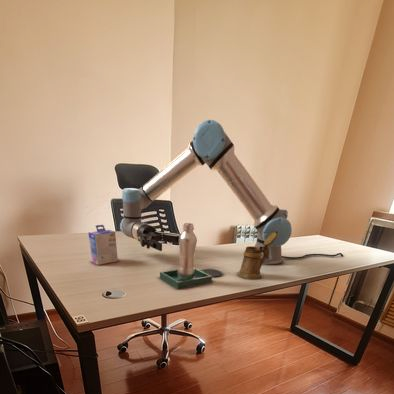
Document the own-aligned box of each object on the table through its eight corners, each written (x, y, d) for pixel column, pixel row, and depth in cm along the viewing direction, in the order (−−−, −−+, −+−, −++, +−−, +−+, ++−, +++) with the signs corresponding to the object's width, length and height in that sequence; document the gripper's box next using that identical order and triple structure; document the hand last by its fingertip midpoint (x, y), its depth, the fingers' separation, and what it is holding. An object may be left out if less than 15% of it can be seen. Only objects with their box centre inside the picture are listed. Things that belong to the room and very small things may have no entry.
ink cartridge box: (111, 258, 134) (108, 223, 126) (118, 261, 131) (116, 225, 123) (91, 262, 128) (86, 225, 120) (98, 265, 125) (94, 228, 117)
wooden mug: (273, 279, 125) (283, 233, 115) (242, 279, 122) (249, 232, 113) (265, 272, 132) (273, 228, 122) (235, 271, 130) (242, 227, 120)
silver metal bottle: (176, 276, 119) (178, 221, 108) (193, 276, 120) (197, 222, 109) (177, 281, 114) (179, 225, 103) (195, 282, 114) (198, 226, 104)
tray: (192, 272, 125) (192, 266, 124) (211, 282, 117) (212, 276, 116) (159, 278, 117) (159, 272, 116) (177, 289, 109) (177, 282, 107)
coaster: (212, 268, 131) (212, 268, 131) (226, 275, 125) (226, 274, 125) (195, 271, 126) (195, 270, 126) (208, 278, 120) (209, 277, 120)
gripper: (168, 239, 137) (199, 251, 124) (119, 245, 122) (148, 259, 109) (169, 221, 133) (201, 231, 120) (117, 226, 118) (147, 238, 105)
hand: (176, 245), depth 115 cm, fingers open, 13 cm apart
